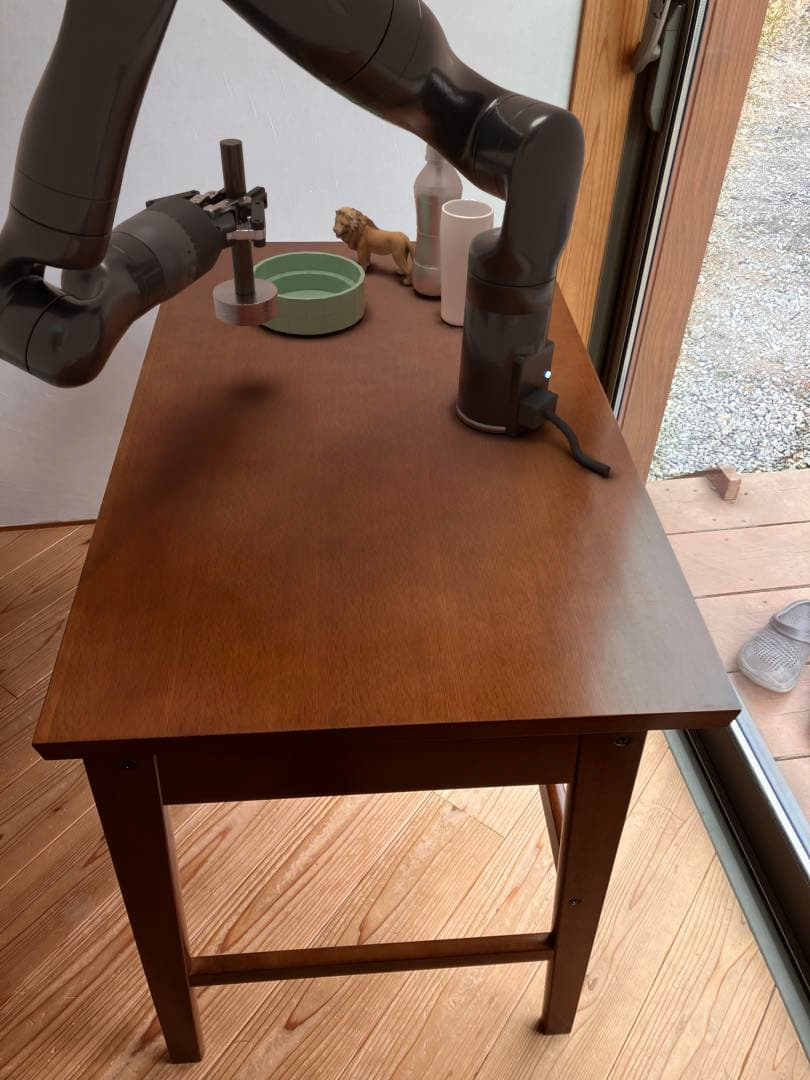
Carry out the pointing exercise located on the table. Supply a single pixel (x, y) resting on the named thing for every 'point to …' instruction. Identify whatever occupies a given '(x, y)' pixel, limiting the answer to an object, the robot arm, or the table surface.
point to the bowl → (314, 291)
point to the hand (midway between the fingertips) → (250, 194)
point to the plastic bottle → (431, 219)
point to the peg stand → (241, 258)
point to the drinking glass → (459, 251)
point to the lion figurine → (372, 240)
